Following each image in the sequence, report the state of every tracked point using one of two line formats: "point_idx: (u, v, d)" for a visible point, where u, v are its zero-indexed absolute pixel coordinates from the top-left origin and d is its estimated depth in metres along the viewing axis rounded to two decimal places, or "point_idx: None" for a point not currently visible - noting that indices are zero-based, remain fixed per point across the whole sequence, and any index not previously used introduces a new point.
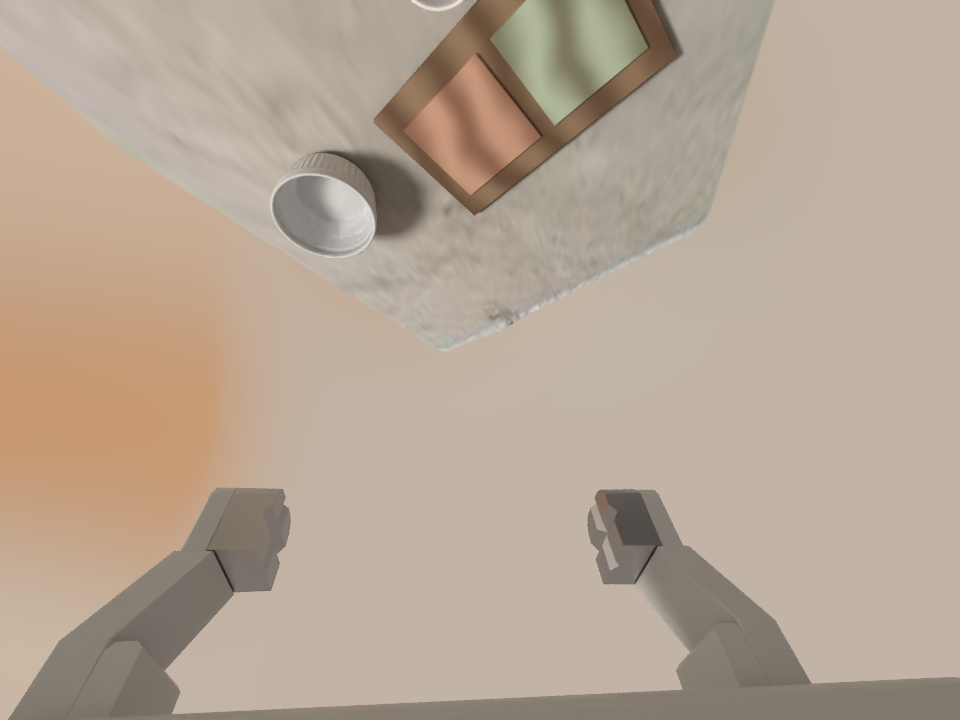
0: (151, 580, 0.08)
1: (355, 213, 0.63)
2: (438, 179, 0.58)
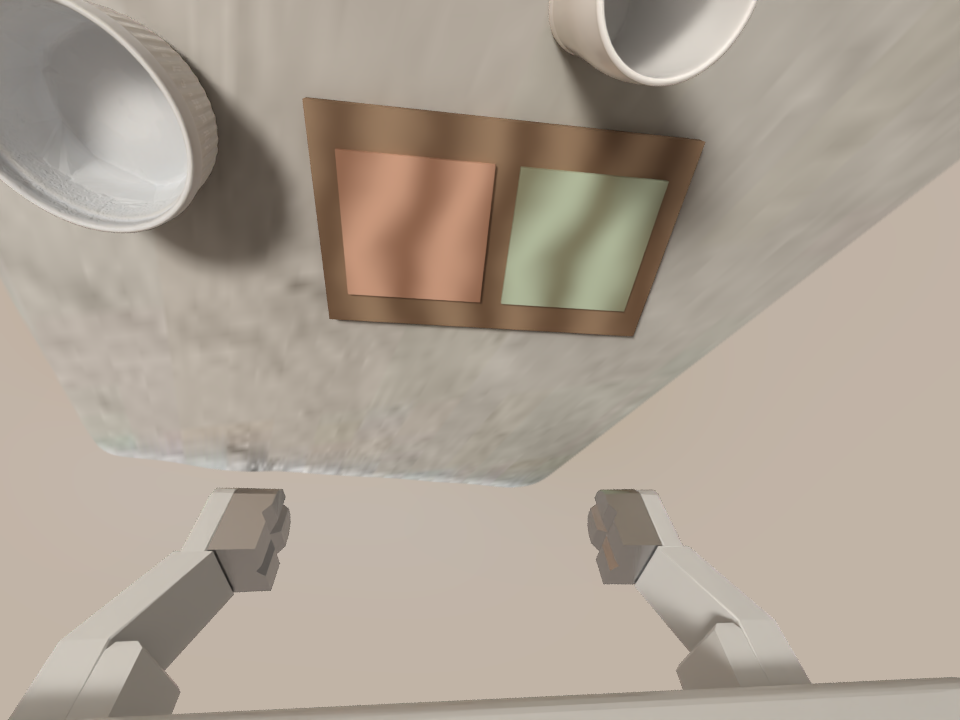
0: (151, 580, 0.08)
1: (144, 173, 0.33)
2: (323, 242, 0.36)
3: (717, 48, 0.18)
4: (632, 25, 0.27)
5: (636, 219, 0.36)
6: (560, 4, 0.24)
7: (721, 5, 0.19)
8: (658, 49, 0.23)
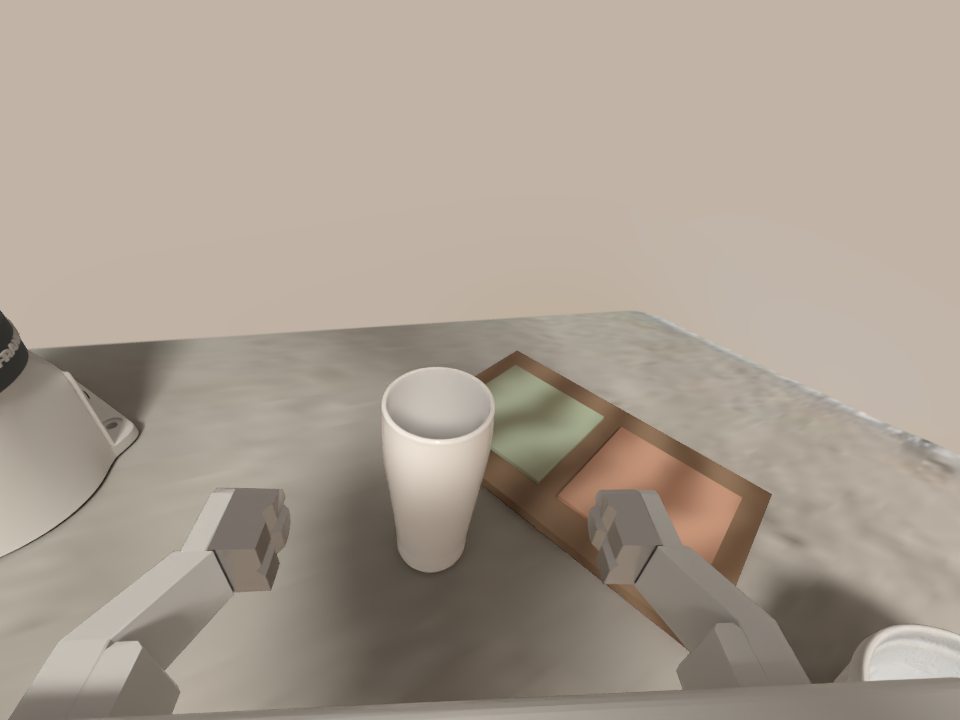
0: (151, 580, 0.08)
1: None
2: (746, 546, 0.35)
3: (431, 373, 0.28)
4: None
5: None
6: (468, 517, 0.29)
7: (406, 405, 0.28)
8: (433, 437, 0.31)
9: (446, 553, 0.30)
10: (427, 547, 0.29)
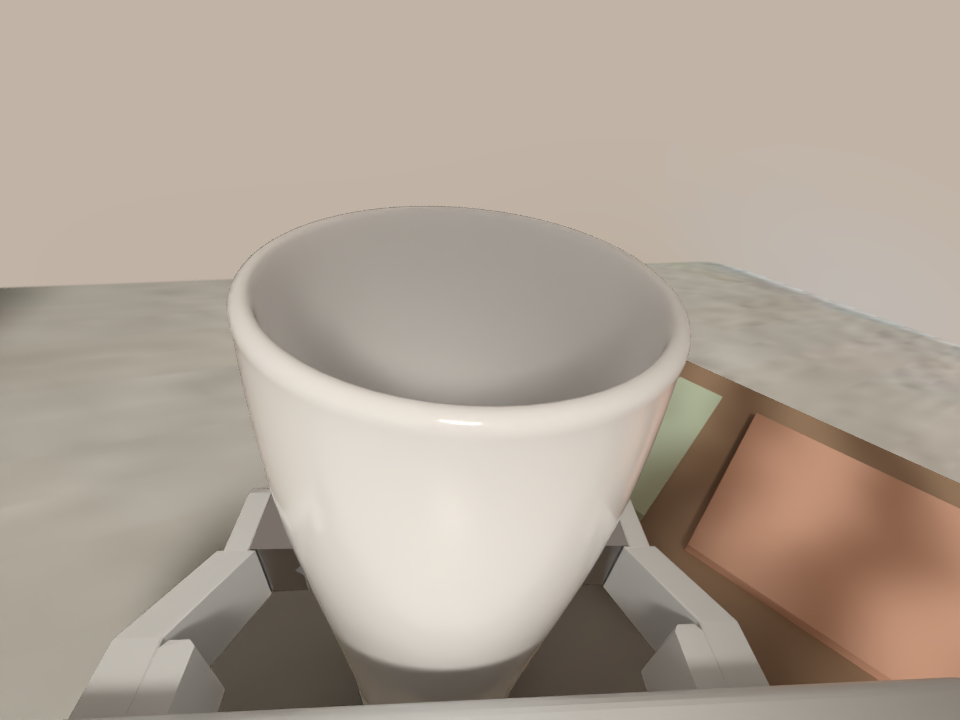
0: (197, 579, 0.08)
1: None
2: None
3: (436, 228, 0.09)
4: None
5: None
6: None
7: (363, 328, 0.10)
8: None
9: None
10: None
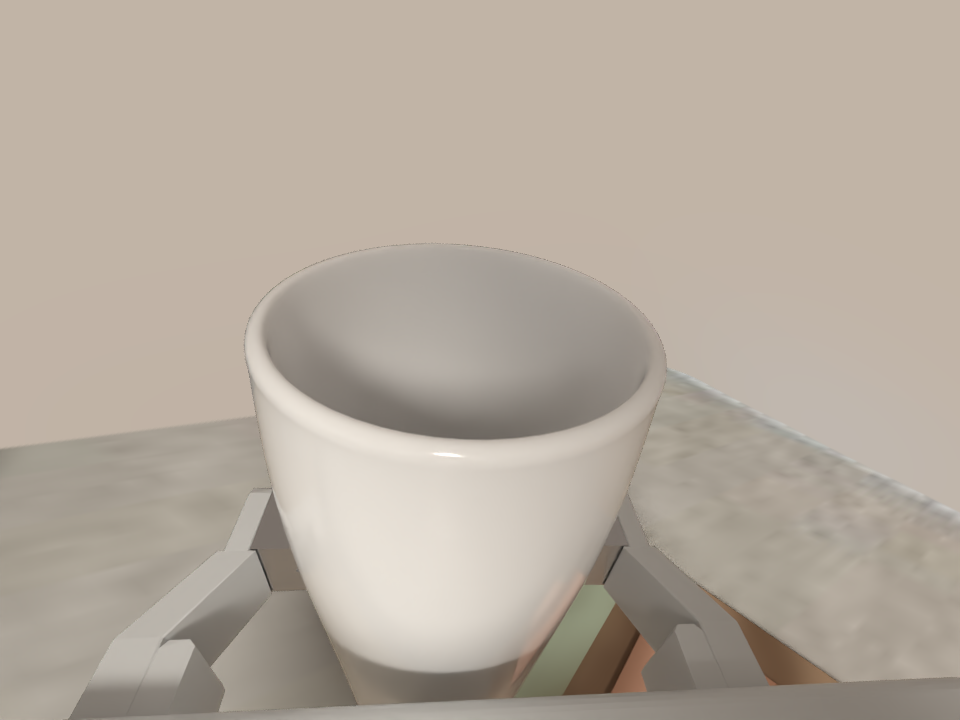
0: (198, 579, 0.08)
1: None
2: None
3: (433, 263, 0.10)
4: None
5: None
6: None
7: (365, 357, 0.10)
8: None
9: None
10: None
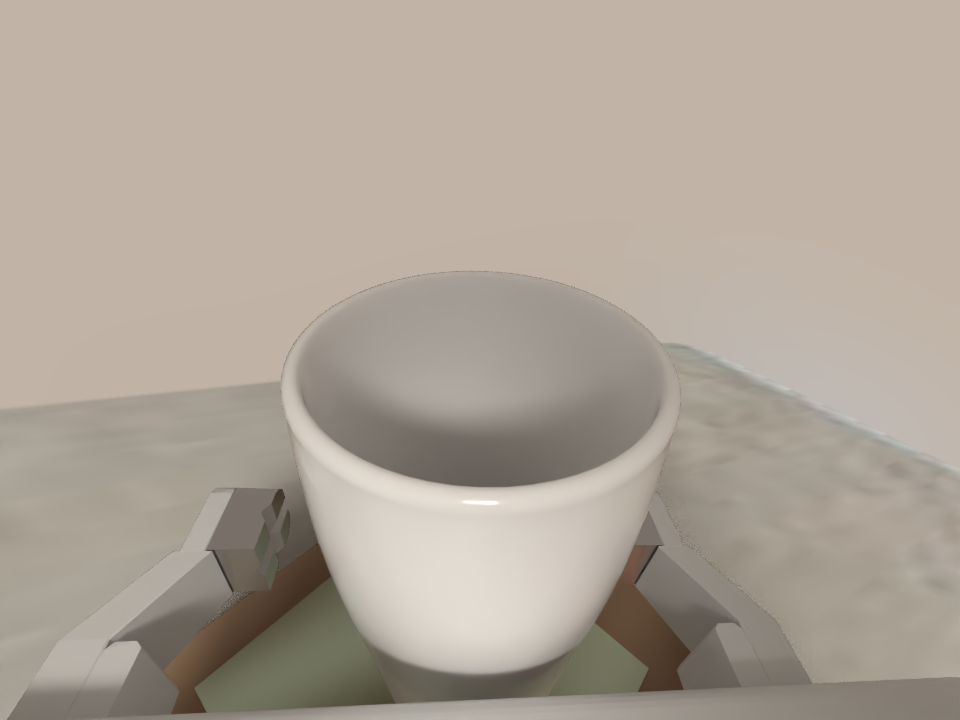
0: (150, 580, 0.08)
1: None
2: None
3: (453, 290, 0.10)
4: None
5: (302, 651, 0.17)
6: None
7: (391, 381, 0.11)
8: (464, 462, 0.13)
9: None
10: None
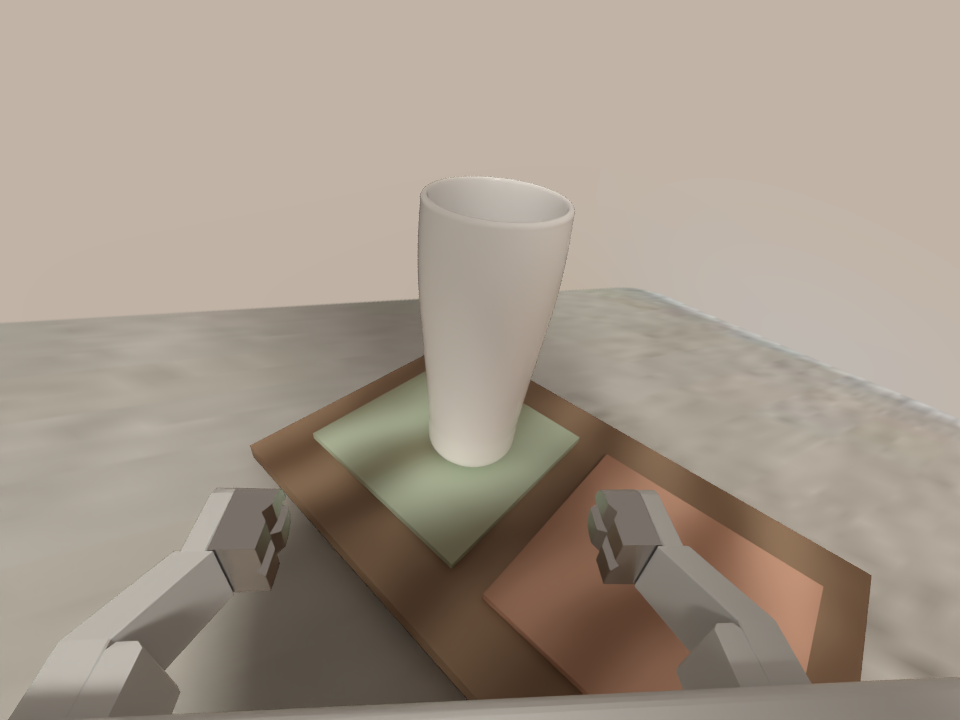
0: (151, 580, 0.08)
1: None
2: None
3: (482, 186, 0.21)
4: None
5: (371, 422, 0.28)
6: (526, 385, 0.23)
7: None
8: None
9: (494, 437, 0.24)
10: (472, 424, 0.23)
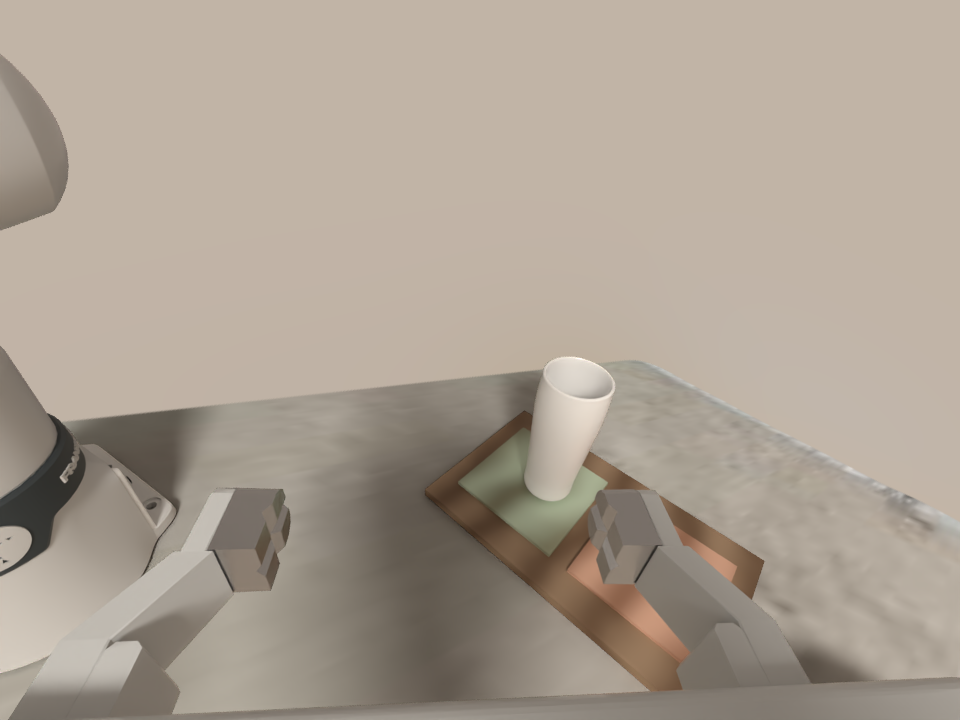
0: (151, 580, 0.08)
1: None
2: None
3: (565, 361, 0.42)
4: None
5: (488, 474, 0.48)
6: None
7: None
8: None
9: (566, 485, 0.44)
10: (556, 479, 0.43)
